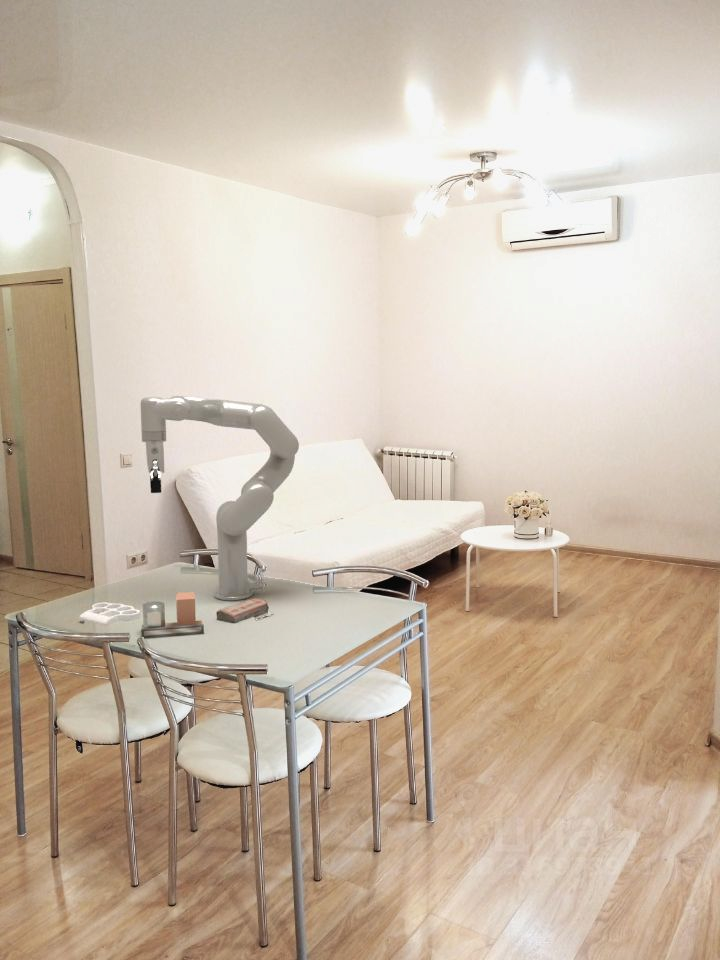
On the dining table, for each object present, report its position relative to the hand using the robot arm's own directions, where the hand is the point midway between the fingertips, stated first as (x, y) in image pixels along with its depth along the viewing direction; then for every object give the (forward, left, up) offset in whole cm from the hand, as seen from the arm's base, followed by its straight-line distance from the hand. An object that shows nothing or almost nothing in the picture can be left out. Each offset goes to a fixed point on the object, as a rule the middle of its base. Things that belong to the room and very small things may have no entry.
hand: (155, 490), depth 257 cm
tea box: (-7, +31, -35) cm, 47 cm away
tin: (+2, +34, -35) cm, 49 cm away
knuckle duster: (+14, +15, -37) cm, 43 cm away
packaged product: (-24, +25, -37) cm, 51 cm away
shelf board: (-3, +33, -36) cm, 49 cm away
